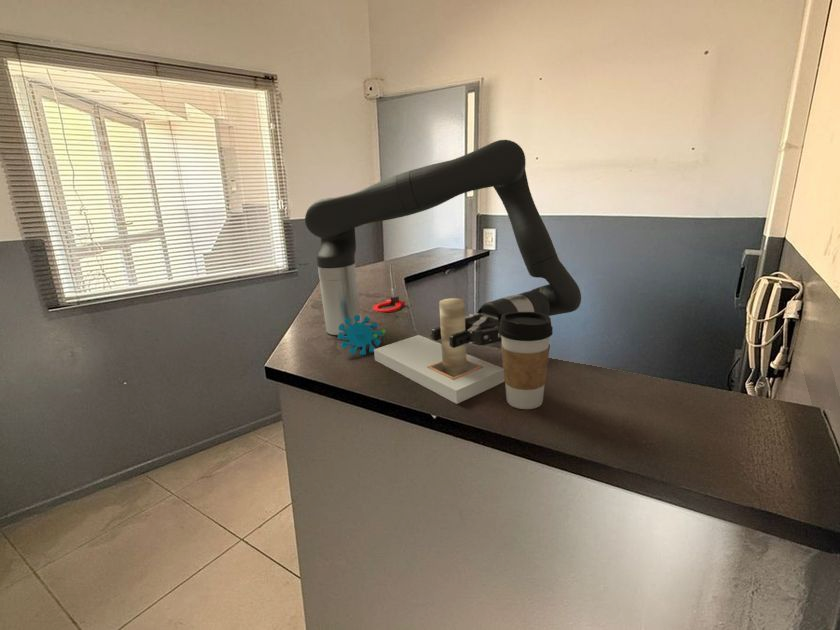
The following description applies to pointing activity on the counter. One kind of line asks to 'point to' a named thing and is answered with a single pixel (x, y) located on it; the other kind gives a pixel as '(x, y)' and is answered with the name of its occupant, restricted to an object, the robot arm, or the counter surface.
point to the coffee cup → (525, 356)
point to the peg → (452, 324)
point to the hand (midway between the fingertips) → (442, 338)
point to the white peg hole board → (438, 368)
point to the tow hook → (394, 297)
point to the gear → (360, 335)
